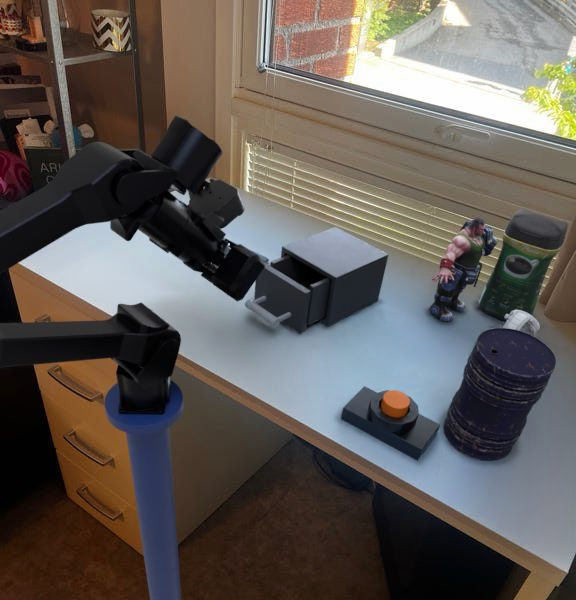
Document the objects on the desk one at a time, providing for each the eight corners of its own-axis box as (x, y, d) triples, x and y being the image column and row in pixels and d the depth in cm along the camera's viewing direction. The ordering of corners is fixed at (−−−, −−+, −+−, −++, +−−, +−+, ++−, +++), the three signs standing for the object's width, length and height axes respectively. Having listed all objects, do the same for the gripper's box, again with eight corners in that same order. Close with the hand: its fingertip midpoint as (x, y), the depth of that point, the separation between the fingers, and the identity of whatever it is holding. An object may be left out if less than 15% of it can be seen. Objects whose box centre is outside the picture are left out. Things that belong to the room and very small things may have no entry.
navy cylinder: (494, 409, 82) (533, 326, 72) (526, 459, 75) (573, 375, 65) (432, 412, 80) (462, 328, 71) (458, 464, 73) (496, 378, 63)
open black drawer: (281, 343, 88) (286, 301, 83) (235, 310, 94) (237, 270, 89) (350, 309, 97) (357, 269, 92) (304, 281, 103) (309, 242, 98)
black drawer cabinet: (327, 327, 94) (336, 277, 88) (277, 294, 101) (281, 246, 94) (377, 301, 102) (388, 254, 96) (328, 272, 108) (335, 226, 102)
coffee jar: (535, 312, 104) (578, 218, 92) (522, 330, 99) (566, 233, 87) (486, 292, 108) (521, 200, 96) (471, 309, 103) (506, 214, 91)
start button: (375, 409, 74) (378, 400, 73) (388, 395, 77) (390, 386, 76) (399, 422, 73) (402, 412, 72) (411, 407, 75) (414, 398, 74)
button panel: (339, 419, 78) (344, 398, 75) (362, 396, 82) (367, 375, 79) (417, 462, 73) (424, 441, 70) (437, 434, 77) (444, 414, 74)
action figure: (437, 341, 94) (470, 243, 82) (404, 324, 97) (431, 227, 85) (488, 299, 106) (523, 209, 94) (457, 285, 109) (488, 196, 97)
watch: (523, 370, 90) (550, 313, 83) (501, 391, 85) (527, 334, 78) (492, 353, 93) (516, 297, 86) (469, 373, 88) (492, 316, 81)
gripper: (258, 193, 62) (314, 255, 76) (162, 143, 71) (227, 206, 85) (202, 276, 63) (267, 323, 76) (114, 215, 72) (186, 266, 86)
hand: (236, 275), depth 81 cm, fingers closed
